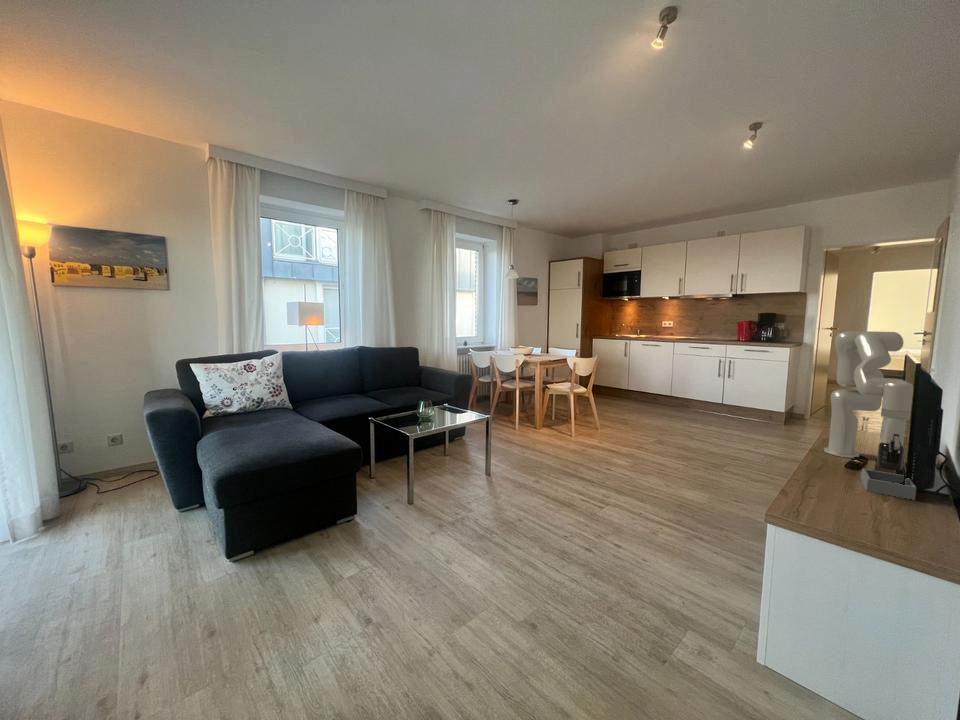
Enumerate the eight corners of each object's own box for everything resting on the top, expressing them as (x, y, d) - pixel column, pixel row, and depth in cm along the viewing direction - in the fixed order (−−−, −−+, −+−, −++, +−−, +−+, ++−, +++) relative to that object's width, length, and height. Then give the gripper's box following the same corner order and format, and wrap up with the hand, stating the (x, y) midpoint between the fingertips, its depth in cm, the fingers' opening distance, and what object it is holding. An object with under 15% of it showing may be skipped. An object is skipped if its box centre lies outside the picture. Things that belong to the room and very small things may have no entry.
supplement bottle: (907, 470, 145) (911, 439, 144) (889, 470, 145) (892, 439, 144) (888, 464, 152) (892, 434, 151) (871, 464, 152) (874, 434, 151)
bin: (861, 480, 159) (862, 468, 158) (905, 488, 151) (907, 475, 151) (866, 491, 149) (867, 478, 148) (914, 500, 141) (916, 487, 141)
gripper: (876, 408, 156) (871, 451, 158) (886, 417, 142) (880, 464, 144) (903, 411, 151) (898, 455, 153) (916, 420, 137) (910, 468, 139)
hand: (890, 459), depth 148 cm, fingers closed on supplement bottle, 6 cm apart
